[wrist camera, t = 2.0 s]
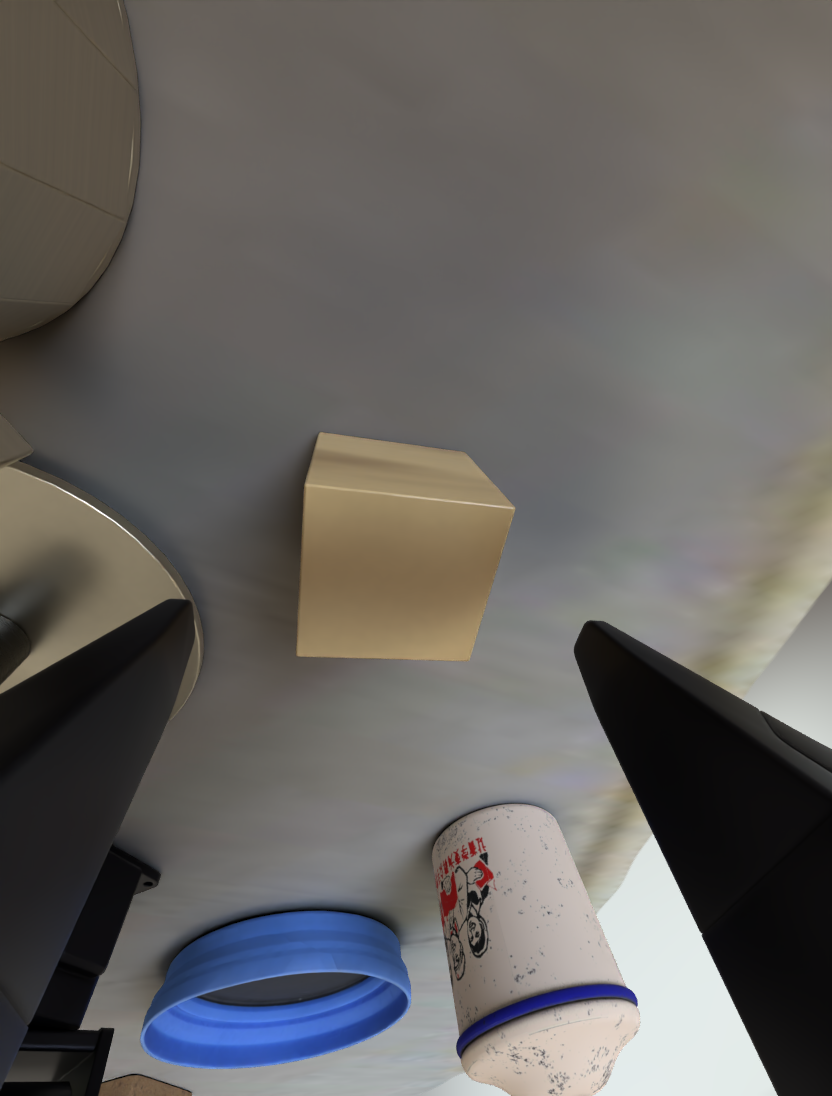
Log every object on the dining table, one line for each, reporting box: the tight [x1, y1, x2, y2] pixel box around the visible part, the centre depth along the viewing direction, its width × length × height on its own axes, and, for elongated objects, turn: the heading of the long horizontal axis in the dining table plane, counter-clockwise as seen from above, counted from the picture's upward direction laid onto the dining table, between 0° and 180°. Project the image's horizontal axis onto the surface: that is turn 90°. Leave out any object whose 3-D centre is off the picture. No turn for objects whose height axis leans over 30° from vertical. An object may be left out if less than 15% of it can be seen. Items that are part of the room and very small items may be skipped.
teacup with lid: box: [432, 804, 640, 1096], centre depth 23 cm, size 12×9×12 cm
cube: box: [296, 432, 515, 661], centre depth 13 cm, size 5×5×5 cm
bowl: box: [140, 911, 411, 1069], centre depth 30 cm, size 18×18×4 cm
